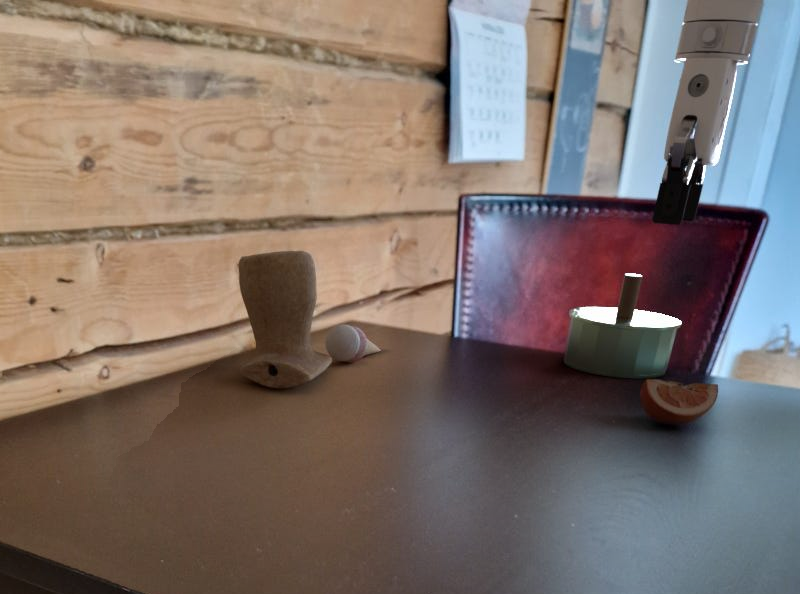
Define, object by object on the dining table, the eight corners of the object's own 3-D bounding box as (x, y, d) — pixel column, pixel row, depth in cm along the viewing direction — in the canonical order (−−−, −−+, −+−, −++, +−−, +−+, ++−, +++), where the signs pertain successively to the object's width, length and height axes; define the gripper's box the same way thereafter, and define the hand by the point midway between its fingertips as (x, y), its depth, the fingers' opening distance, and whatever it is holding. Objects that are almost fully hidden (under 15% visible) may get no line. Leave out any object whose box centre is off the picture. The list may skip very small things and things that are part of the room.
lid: (611, 312, 132) (621, 266, 129) (701, 330, 121) (714, 280, 118) (545, 318, 124) (554, 269, 120) (635, 338, 113) (648, 285, 110)
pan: (603, 352, 134) (613, 308, 131) (685, 372, 124) (697, 325, 121) (543, 360, 127) (551, 314, 123) (624, 382, 117) (636, 333, 113)
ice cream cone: (361, 354, 129) (312, 345, 116) (379, 327, 126) (331, 315, 114) (383, 373, 128) (337, 367, 115) (402, 346, 125) (356, 336, 113)
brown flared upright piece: (255, 360, 117) (256, 240, 109) (339, 370, 115) (346, 247, 107) (215, 385, 104) (213, 251, 97) (309, 396, 102) (315, 259, 94)
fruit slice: (697, 419, 102) (709, 376, 100) (718, 435, 96) (731, 390, 94) (627, 414, 102) (637, 372, 100) (644, 431, 96) (655, 386, 94)
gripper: (743, 36, 84) (696, 228, 93) (759, 55, 97) (716, 221, 106) (664, 36, 87) (626, 222, 96) (690, 54, 100) (654, 216, 109)
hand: (673, 221), depth 101 cm, fingers open, 9 cm apart
